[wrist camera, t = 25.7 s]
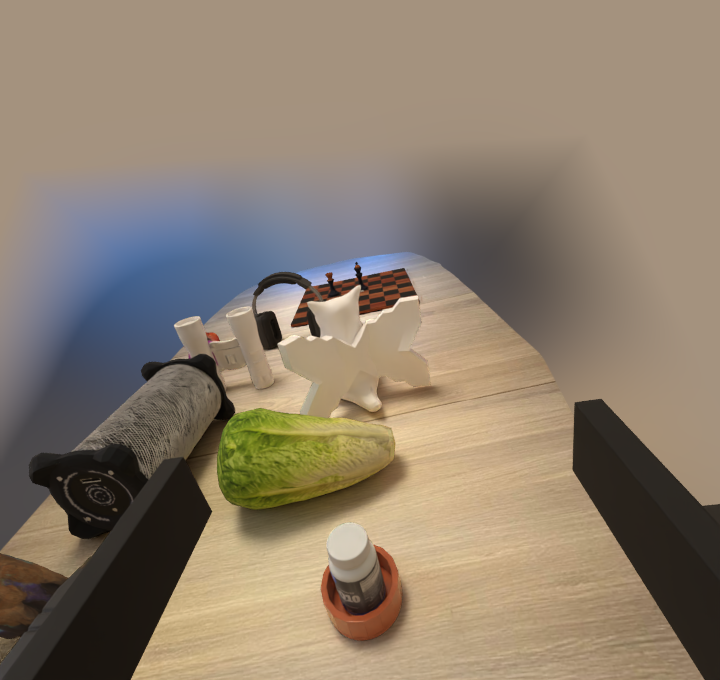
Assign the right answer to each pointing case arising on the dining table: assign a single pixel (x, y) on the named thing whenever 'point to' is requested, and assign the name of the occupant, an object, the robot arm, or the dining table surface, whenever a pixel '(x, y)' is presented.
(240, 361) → the binoculars
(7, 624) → the bird figurine
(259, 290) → the headphones
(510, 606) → the dining table surface
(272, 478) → the lettuce
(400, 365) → the white abstract sculpture
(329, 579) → the orange cup holder
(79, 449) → the speaker
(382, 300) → the chessboard
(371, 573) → the pill bottle
